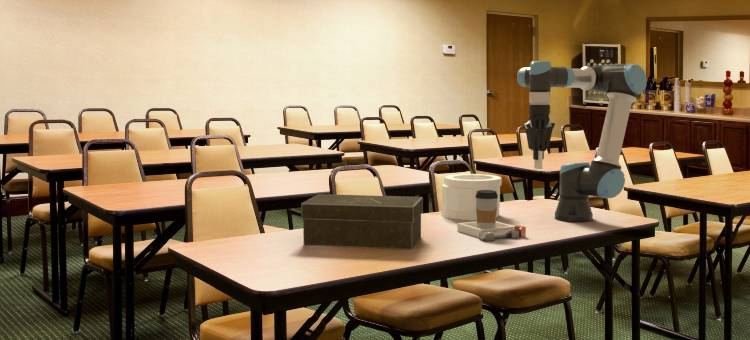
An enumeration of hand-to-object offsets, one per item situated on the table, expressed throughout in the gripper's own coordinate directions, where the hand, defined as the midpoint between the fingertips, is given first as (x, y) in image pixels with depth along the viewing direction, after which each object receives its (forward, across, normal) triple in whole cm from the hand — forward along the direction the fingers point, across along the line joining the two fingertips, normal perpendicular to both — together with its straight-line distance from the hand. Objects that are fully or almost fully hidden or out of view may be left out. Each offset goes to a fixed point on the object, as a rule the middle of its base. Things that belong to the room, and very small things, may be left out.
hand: (538, 168), depth 289 cm
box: (+25, +62, -19) cm, 69 cm away
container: (+25, -2, -46) cm, 52 cm away
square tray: (+24, +15, -11) cm, 31 cm away
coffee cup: (+24, +15, -11) cm, 30 cm away
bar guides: (+24, +17, 0) cm, 30 cm away
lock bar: (+24, +17, 0) cm, 30 cm away
